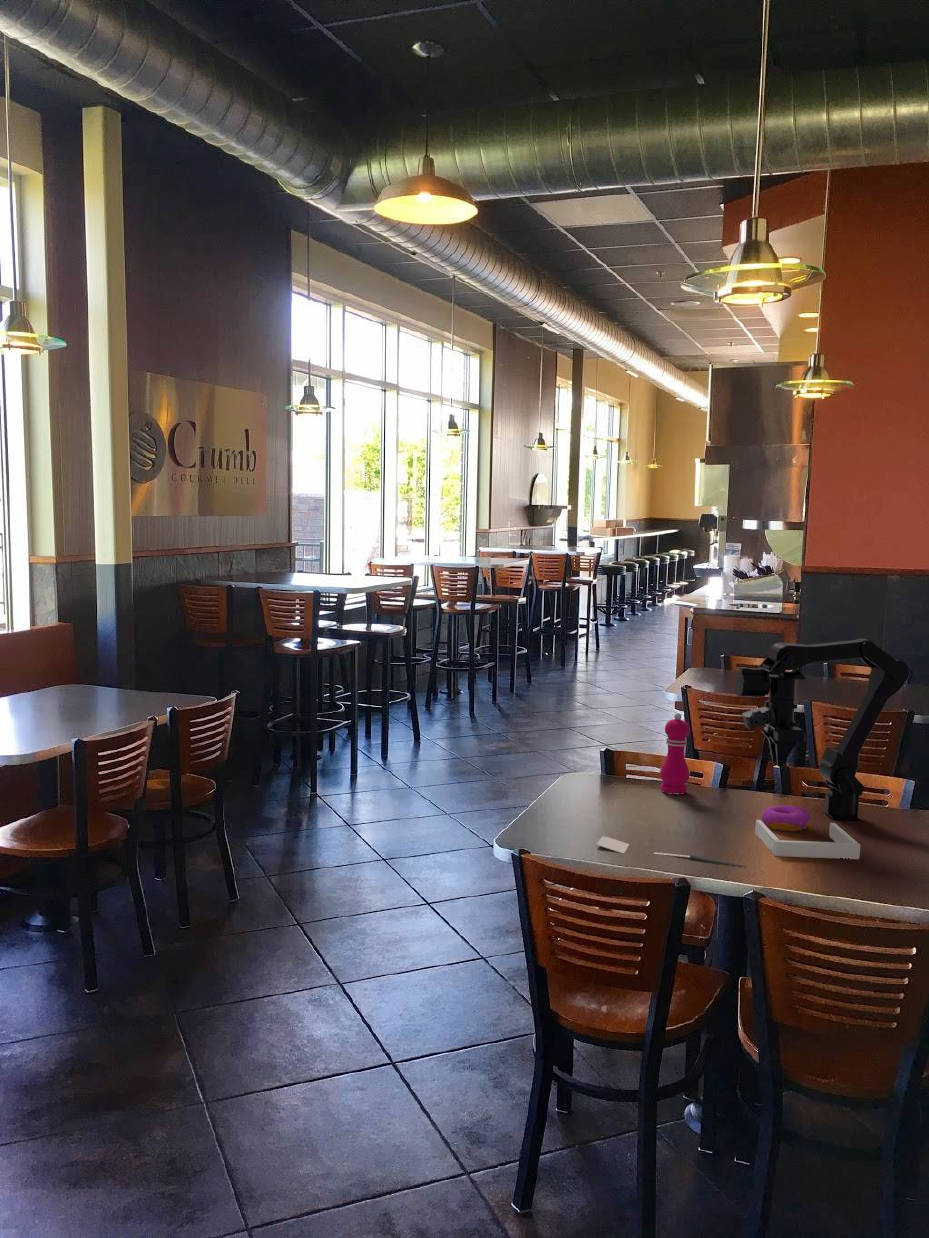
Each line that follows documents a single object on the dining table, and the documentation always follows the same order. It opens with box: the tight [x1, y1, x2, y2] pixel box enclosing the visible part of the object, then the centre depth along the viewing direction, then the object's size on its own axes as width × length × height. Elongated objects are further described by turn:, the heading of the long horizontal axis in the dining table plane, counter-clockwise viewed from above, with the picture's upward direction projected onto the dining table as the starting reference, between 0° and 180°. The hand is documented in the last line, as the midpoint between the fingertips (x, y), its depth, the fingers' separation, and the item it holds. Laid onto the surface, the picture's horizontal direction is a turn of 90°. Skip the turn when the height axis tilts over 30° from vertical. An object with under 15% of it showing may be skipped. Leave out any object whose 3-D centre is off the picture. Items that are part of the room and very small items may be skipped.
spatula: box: [596, 835, 747, 868], centre depth 195 cm, size 6×29×2 cm, turn 68°
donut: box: [761, 805, 811, 833], centre depth 216 cm, size 10×10×5 cm
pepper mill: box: [659, 712, 690, 794], centre depth 241 cm, size 7×7×20 cm
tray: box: [754, 819, 861, 860], centre depth 203 cm, size 17×14×3 cm
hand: (777, 764), depth 224 cm, fingers open, 3 cm apart
